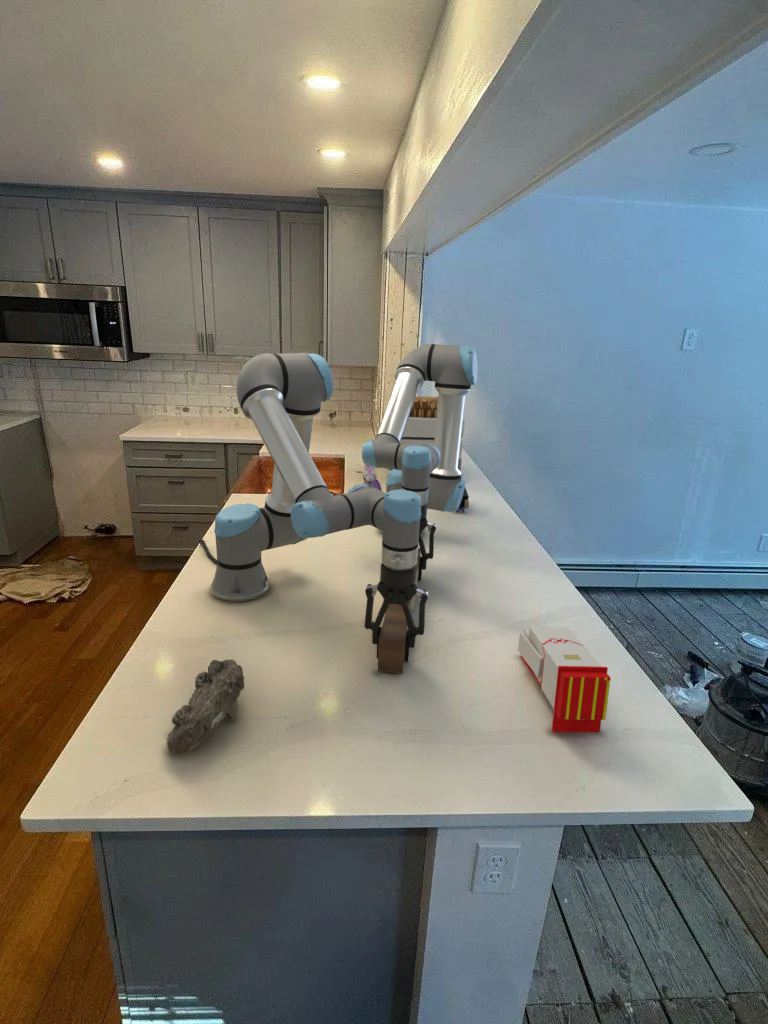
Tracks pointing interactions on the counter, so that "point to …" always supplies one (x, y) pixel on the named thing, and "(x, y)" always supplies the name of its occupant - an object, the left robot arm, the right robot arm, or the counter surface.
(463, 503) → the figurine character
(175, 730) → the fossil
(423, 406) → the white wooden crate
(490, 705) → the counter surface
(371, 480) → the figurine
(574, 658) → the toy
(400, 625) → the bar
